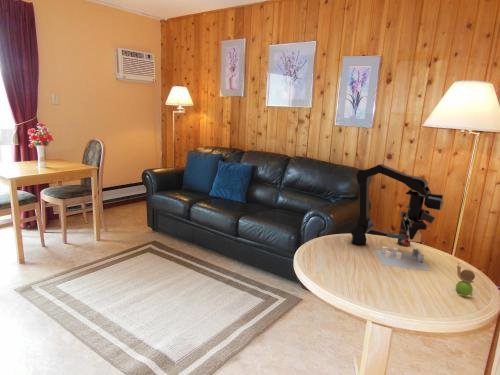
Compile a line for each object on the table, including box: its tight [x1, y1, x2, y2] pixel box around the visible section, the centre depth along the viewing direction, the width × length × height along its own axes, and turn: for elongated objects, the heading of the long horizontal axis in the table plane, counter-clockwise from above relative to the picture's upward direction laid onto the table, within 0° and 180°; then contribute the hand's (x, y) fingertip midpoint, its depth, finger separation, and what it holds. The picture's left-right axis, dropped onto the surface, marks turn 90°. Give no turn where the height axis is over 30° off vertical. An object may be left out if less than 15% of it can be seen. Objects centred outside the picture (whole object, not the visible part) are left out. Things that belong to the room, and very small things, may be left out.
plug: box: [386, 230, 422, 243], centre depth 157 cm, size 14×4×4 cm, turn 81°
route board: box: [374, 249, 431, 272], centre depth 157 cm, size 20×18×1 cm
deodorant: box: [397, 217, 411, 248], centre depth 175 cm, size 6×6×15 cm
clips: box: [381, 246, 403, 260], centre depth 160 cm, size 7×6×3 cm
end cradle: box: [411, 247, 425, 263], centre depth 158 cm, size 2×8×4 cm, turn 171°
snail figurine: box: [455, 262, 476, 296], centre depth 129 cm, size 5×6×12 cm
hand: (409, 237), depth 157 cm, fingers closed on plug, 4 cm apart
